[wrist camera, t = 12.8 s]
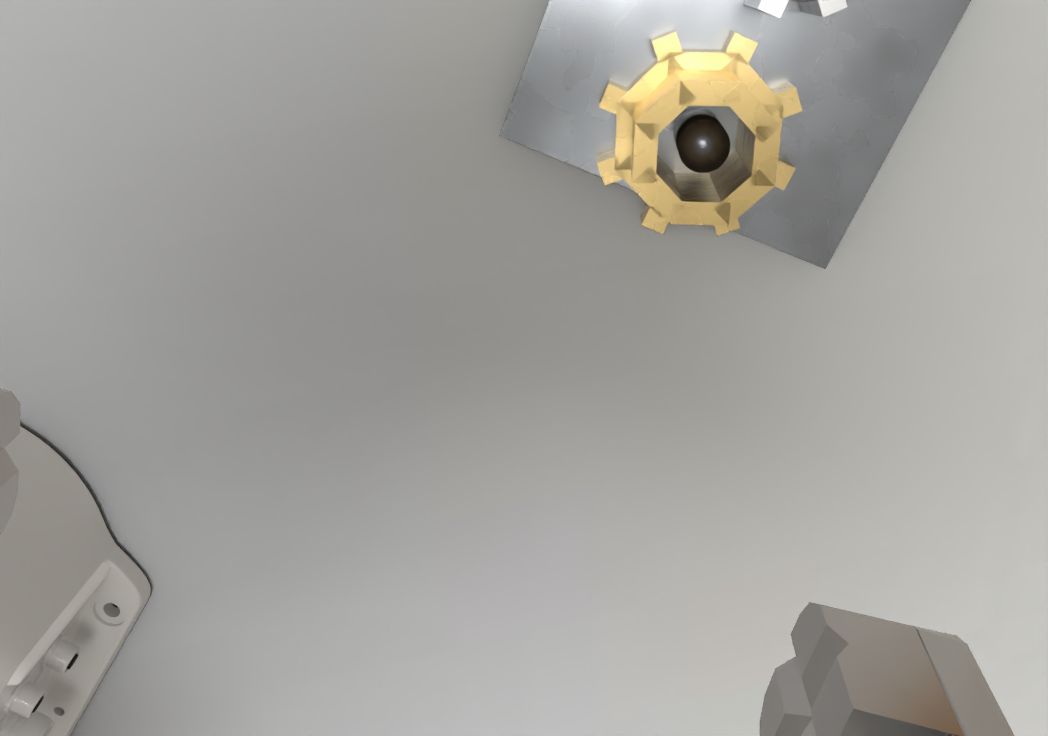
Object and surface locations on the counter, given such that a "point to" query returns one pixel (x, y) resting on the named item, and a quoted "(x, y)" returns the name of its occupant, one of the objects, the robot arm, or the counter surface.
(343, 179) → the counter surface
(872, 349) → the counter surface
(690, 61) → the gear
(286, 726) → the counter surface
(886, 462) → the counter surface
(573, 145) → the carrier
